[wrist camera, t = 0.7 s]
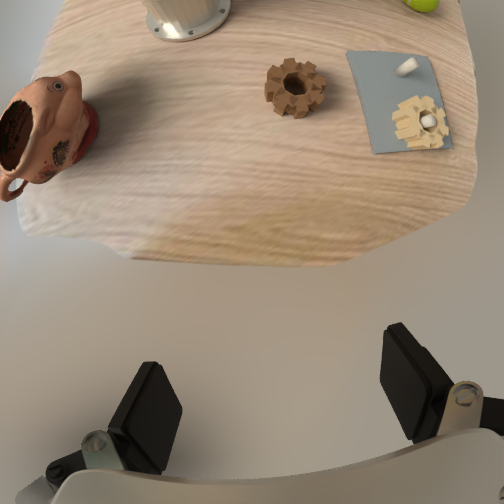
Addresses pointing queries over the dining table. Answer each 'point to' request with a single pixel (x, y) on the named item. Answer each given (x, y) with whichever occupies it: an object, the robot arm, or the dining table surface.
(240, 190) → the dining table surface
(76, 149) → the decorative planter
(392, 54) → the gear board
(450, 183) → the dining table surface
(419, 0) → the tennis ball
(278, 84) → the walnut gear
